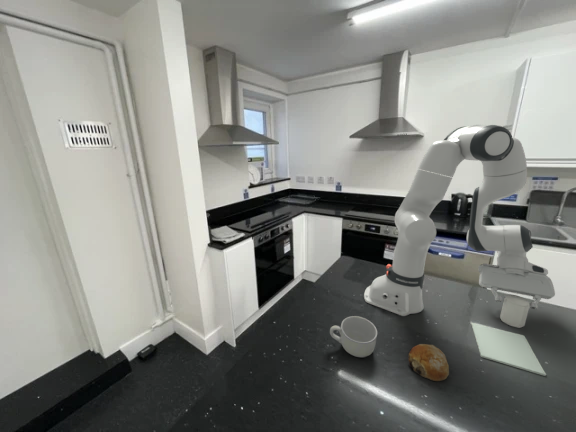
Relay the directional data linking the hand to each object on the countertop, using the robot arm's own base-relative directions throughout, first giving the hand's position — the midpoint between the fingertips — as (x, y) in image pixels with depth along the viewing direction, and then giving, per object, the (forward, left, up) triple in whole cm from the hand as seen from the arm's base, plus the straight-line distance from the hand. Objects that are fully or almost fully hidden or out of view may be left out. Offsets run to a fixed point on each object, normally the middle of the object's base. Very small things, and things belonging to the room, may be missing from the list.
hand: (515, 304), depth 85 cm
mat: (-6, -16, -7) cm, 19 cm away
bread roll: (-27, -35, -7) cm, 45 cm away
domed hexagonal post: (0, 0, -7) cm, 7 cm away
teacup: (-48, -38, -7) cm, 62 cm away
